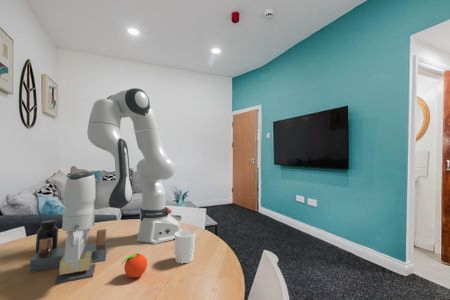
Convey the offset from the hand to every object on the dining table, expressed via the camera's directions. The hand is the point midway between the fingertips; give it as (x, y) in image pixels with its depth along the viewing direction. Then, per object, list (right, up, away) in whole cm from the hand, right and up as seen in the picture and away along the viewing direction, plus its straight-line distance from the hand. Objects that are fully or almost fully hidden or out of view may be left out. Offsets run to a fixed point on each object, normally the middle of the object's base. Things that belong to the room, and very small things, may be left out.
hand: (77, 264), depth 71 cm
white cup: (+33, -5, +11) cm, 35 cm away
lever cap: (0, -1, 0) cm, 1 cm away
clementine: (+19, -4, -1) cm, 19 cm away
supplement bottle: (-24, -4, +16) cm, 29 cm away
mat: (0, -3, 0) cm, 3 cm away
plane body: (-8, -3, +8) cm, 12 cm away
